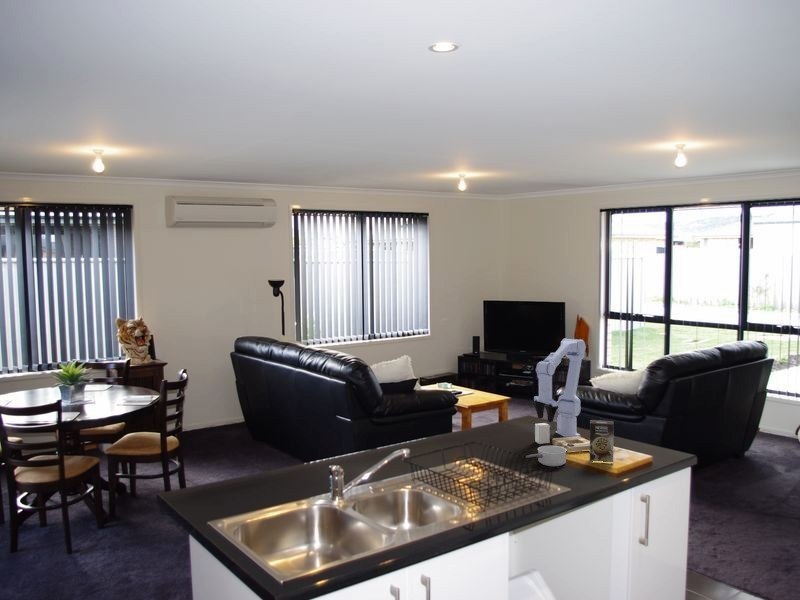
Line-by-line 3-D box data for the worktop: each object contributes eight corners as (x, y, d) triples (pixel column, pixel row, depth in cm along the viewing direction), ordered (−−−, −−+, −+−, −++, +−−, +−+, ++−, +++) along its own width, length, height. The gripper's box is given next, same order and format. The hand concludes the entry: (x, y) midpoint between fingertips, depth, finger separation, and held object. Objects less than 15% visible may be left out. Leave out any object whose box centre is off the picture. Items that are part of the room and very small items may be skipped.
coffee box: (589, 463, 265) (589, 422, 264) (589, 458, 271) (589, 419, 271) (613, 464, 263) (613, 424, 262) (613, 460, 269) (613, 420, 268)
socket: (552, 444, 294) (552, 437, 294) (579, 441, 297) (579, 434, 297) (569, 453, 280) (568, 446, 279) (597, 450, 283) (597, 443, 282)
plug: (535, 441, 299) (535, 423, 299) (549, 440, 301) (549, 422, 300) (539, 443, 295) (539, 425, 295) (553, 442, 297) (553, 424, 297)
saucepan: (516, 466, 263) (515, 452, 263) (551, 457, 275) (551, 444, 274) (537, 473, 254) (537, 459, 254) (573, 464, 265) (573, 450, 265)
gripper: (528, 387, 300) (528, 417, 300) (547, 392, 286) (547, 424, 287) (541, 385, 302) (541, 415, 303) (561, 391, 289) (561, 422, 289)
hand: (545, 419), depth 295 cm, fingers open, 7 cm apart
